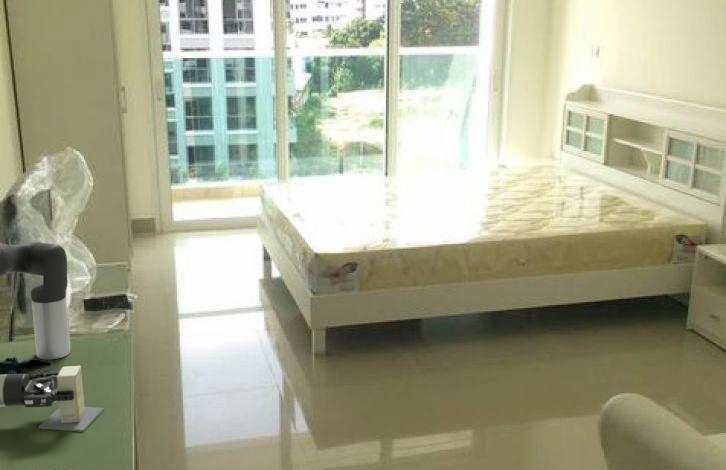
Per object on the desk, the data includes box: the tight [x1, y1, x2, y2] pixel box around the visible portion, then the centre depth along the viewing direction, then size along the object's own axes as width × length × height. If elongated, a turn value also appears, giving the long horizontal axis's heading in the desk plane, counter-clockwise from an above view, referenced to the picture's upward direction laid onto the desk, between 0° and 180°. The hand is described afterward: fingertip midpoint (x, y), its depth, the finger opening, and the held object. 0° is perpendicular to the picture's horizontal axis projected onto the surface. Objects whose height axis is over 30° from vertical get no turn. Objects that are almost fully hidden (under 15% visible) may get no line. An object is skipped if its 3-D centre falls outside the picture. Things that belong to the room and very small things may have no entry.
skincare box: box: [56, 365, 86, 423], centre depth 180 cm, size 6×4×12 cm
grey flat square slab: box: [38, 406, 105, 433], centre depth 182 cm, size 11×11×1 cm
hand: (77, 387), depth 180 cm, fingers open, 8 cm apart
